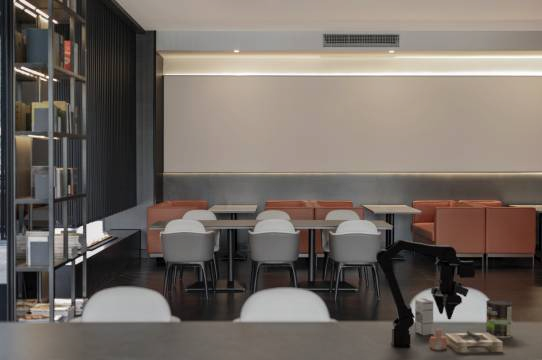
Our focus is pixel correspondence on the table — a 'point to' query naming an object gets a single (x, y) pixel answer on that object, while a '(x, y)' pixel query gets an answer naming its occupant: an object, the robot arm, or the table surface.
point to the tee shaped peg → (438, 338)
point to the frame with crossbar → (473, 341)
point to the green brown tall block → (499, 318)
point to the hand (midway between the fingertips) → (445, 316)
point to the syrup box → (424, 316)
